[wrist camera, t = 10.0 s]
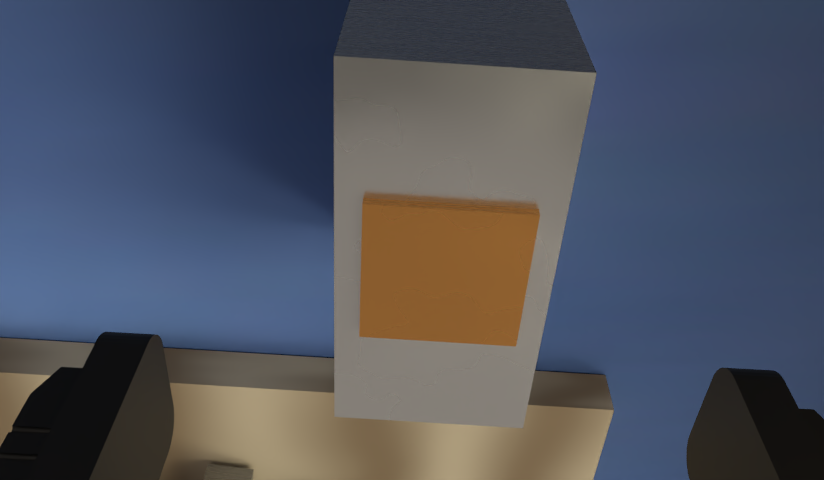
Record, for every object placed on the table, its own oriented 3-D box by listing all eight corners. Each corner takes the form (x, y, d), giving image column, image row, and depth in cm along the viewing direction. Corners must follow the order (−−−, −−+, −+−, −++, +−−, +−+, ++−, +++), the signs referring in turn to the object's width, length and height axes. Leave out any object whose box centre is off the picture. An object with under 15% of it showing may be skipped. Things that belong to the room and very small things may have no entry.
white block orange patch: (544, -50, 17) (598, 78, 11) (500, 238, 22) (523, 435, 16) (368, -62, 17) (332, 61, 11) (361, 230, 22) (333, 423, 16)
